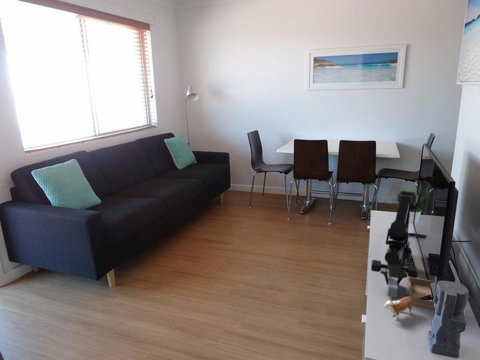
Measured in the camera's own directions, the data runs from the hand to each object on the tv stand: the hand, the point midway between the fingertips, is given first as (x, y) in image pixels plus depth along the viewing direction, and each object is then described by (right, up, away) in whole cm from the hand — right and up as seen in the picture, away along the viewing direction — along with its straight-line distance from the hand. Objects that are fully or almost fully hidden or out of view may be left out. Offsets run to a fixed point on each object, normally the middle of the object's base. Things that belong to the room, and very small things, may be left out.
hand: (392, 285), depth 158 cm
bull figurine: (-5, -8, -16) cm, 18 cm away
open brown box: (+12, -3, -4) cm, 13 cm away
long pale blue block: (0, -1, 0) cm, 1 cm away
